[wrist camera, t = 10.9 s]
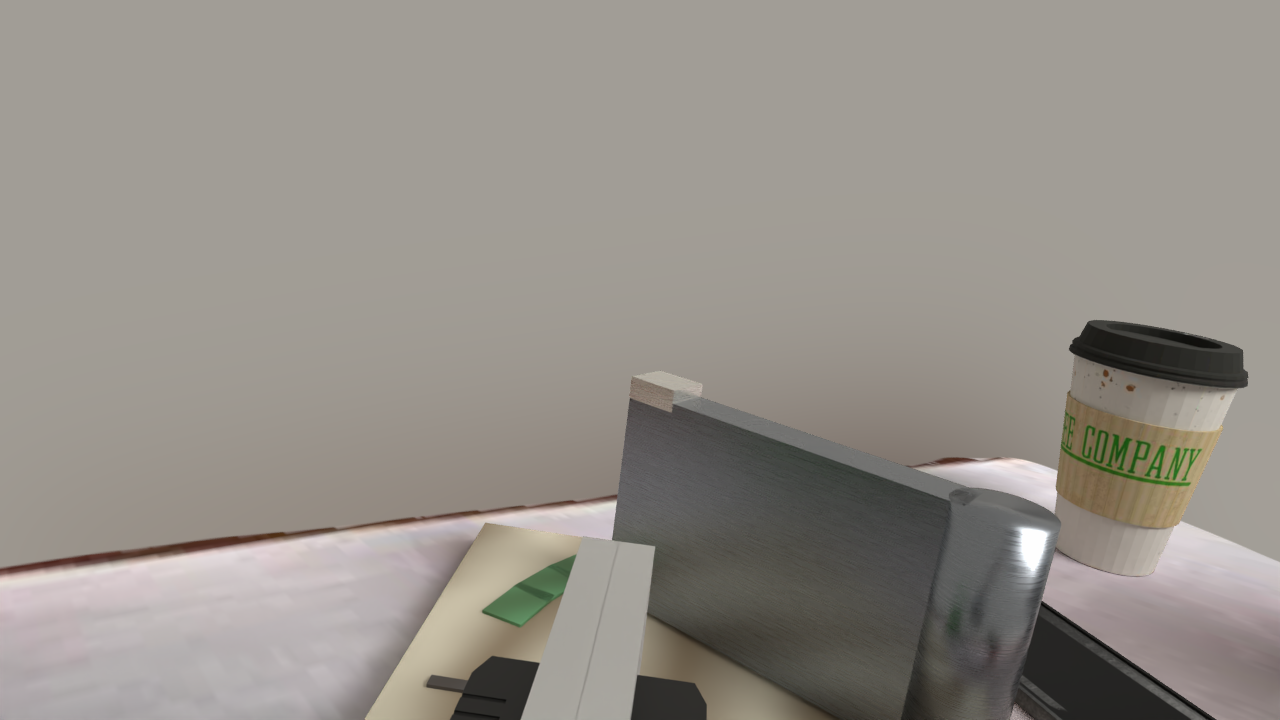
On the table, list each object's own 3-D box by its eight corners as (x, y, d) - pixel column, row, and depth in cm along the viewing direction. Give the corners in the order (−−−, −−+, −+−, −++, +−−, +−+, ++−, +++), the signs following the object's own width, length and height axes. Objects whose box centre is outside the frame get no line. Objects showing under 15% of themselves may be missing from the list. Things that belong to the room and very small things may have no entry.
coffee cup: (991, 527, 58) (1042, 316, 54) (1083, 515, 62) (1136, 319, 58) (1124, 600, 49) (1195, 356, 46) (1220, 580, 54) (1291, 356, 50)
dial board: (920, 613, 45) (926, 586, 44) (1083, 960, 25) (1097, 916, 25) (483, 547, 46) (485, 520, 45) (318, 831, 26) (319, 787, 26)
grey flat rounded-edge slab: (1006, 759, 31) (1077, 498, 29) (975, 810, 28) (1050, 526, 26) (643, 571, 42) (670, 368, 39) (594, 594, 39) (620, 378, 36)
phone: (1022, 587, 48) (1298, 774, 34) (1018, 605, 48) (1290, 797, 34) (909, 598, 45) (1160, 806, 31) (905, 617, 45) (1152, 831, 31)
